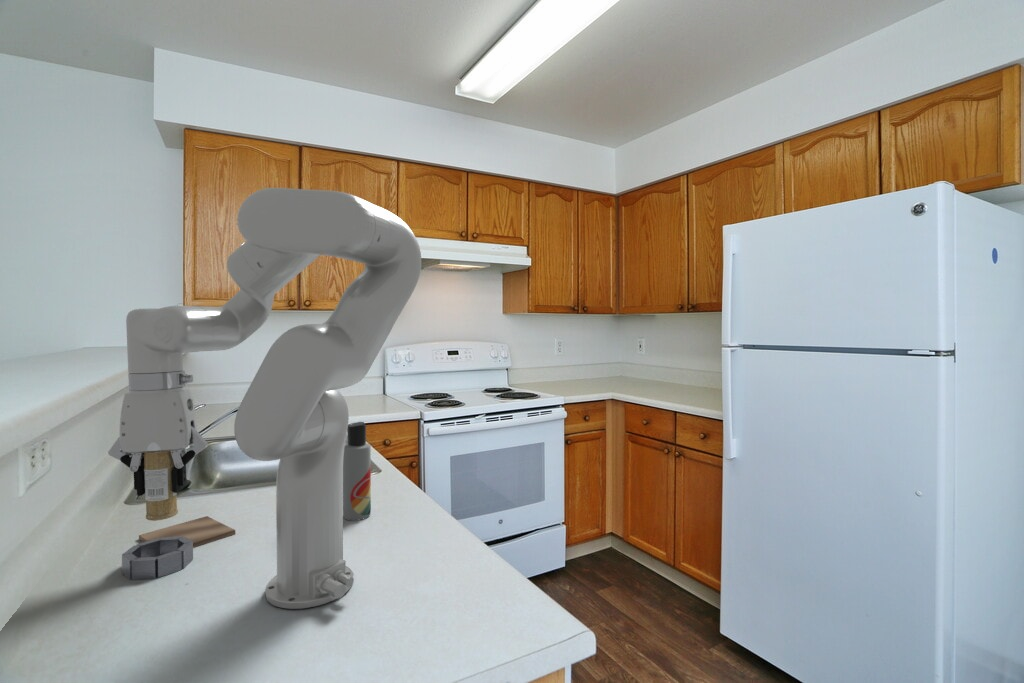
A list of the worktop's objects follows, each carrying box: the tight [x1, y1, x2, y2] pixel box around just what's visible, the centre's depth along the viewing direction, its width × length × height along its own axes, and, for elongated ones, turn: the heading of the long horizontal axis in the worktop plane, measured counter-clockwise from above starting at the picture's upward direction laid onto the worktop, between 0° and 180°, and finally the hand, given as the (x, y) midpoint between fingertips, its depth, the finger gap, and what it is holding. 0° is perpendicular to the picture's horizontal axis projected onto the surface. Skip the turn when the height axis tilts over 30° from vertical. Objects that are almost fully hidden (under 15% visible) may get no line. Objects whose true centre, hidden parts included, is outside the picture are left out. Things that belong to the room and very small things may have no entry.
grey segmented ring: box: [121, 536, 194, 581], centre depth 86 cm, size 9×9×3 cm
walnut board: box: [138, 516, 236, 548], centre depth 97 cm, size 12×12×1 cm
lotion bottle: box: [343, 421, 372, 521], centre depth 108 cm, size 6×6×20 cm
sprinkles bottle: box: [144, 442, 179, 522], centre depth 85 cm, size 5×5×14 cm
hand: (161, 490), depth 85 cm, fingers closed on sprinkles bottle, 4 cm apart
